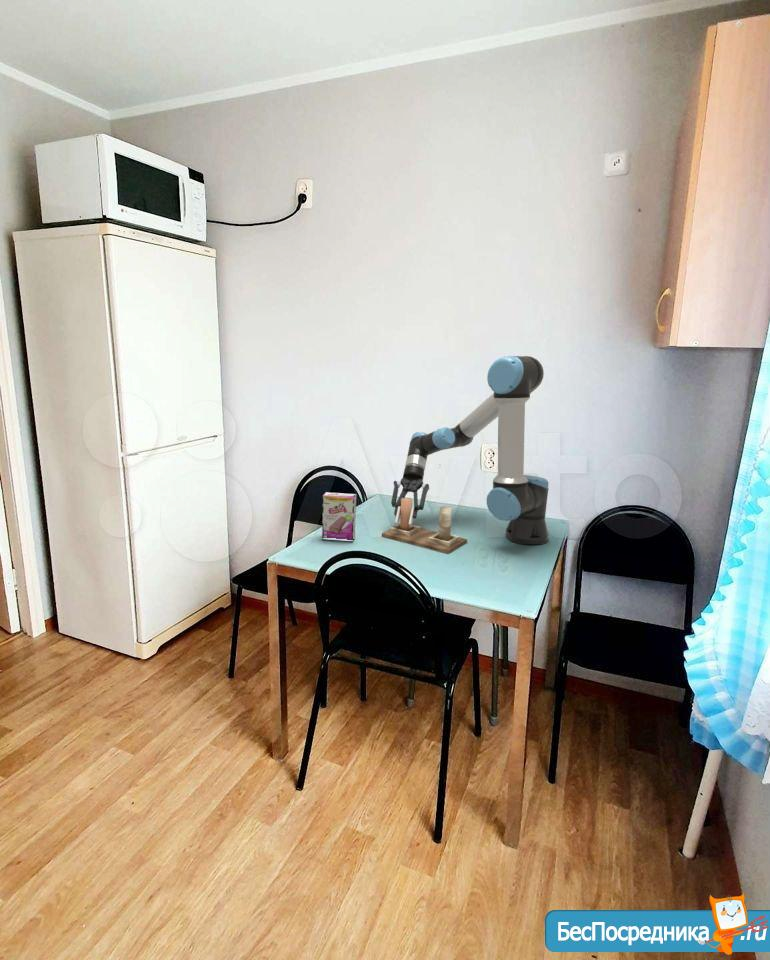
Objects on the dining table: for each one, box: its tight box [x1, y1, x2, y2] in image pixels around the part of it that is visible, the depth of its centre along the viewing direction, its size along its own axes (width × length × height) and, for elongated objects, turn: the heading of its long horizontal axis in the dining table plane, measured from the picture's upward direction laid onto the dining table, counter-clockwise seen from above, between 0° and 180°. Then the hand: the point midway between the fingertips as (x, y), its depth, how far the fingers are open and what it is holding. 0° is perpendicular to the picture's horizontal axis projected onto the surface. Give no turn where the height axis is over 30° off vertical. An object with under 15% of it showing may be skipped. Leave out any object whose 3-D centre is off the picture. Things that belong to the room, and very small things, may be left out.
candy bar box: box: [321, 491, 357, 541], centre depth 195 cm, size 11×5×16 cm, turn 84°
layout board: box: [381, 506, 468, 555], centre depth 198 cm, size 27×14×13 cm, turn 56°
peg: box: [399, 497, 413, 531], centre depth 202 cm, size 4×4×12 cm
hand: (403, 524), depth 199 cm, fingers open, 4 cm apart
